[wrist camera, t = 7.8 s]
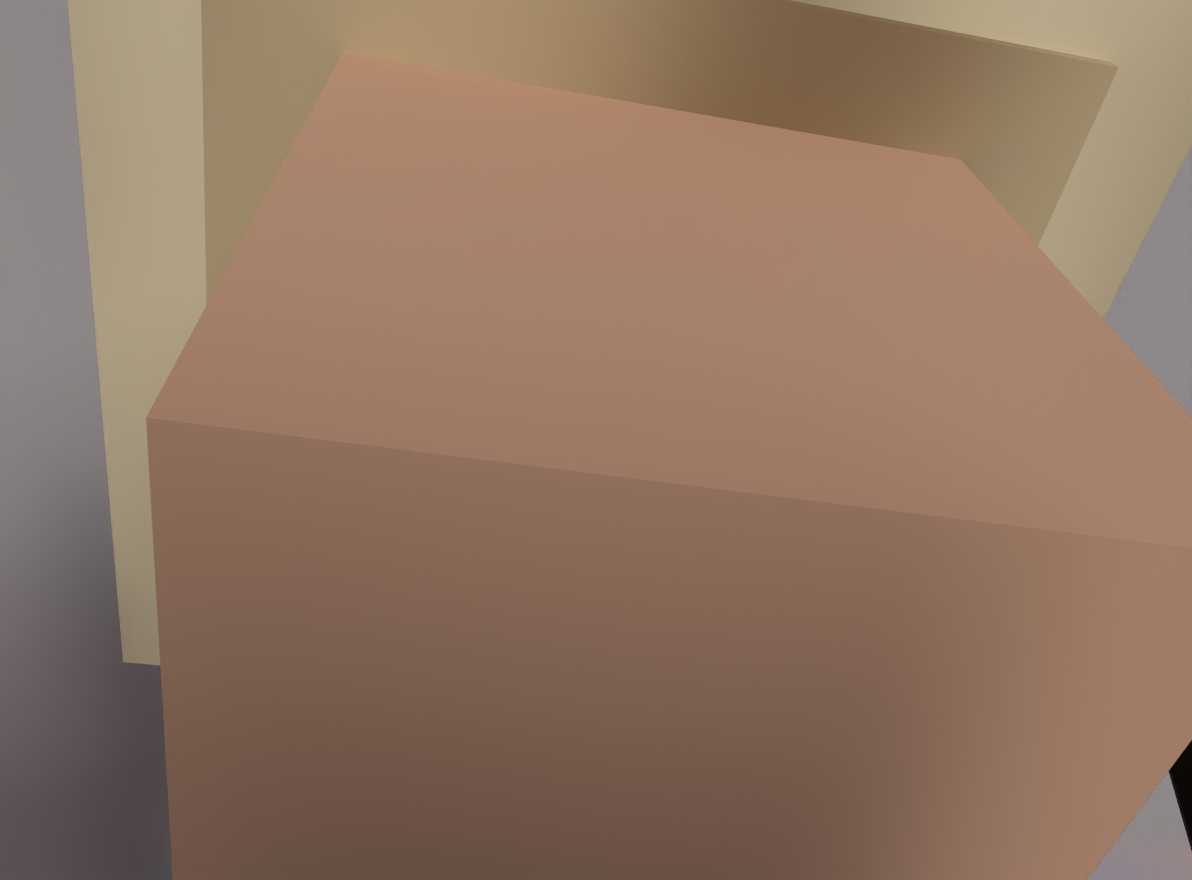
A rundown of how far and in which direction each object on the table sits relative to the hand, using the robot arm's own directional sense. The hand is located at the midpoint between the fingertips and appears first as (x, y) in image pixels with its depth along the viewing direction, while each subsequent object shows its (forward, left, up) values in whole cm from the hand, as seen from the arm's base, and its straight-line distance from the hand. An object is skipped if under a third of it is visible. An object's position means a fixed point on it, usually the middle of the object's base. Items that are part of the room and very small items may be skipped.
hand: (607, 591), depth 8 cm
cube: (0, 0, -3) cm, 3 cm away
